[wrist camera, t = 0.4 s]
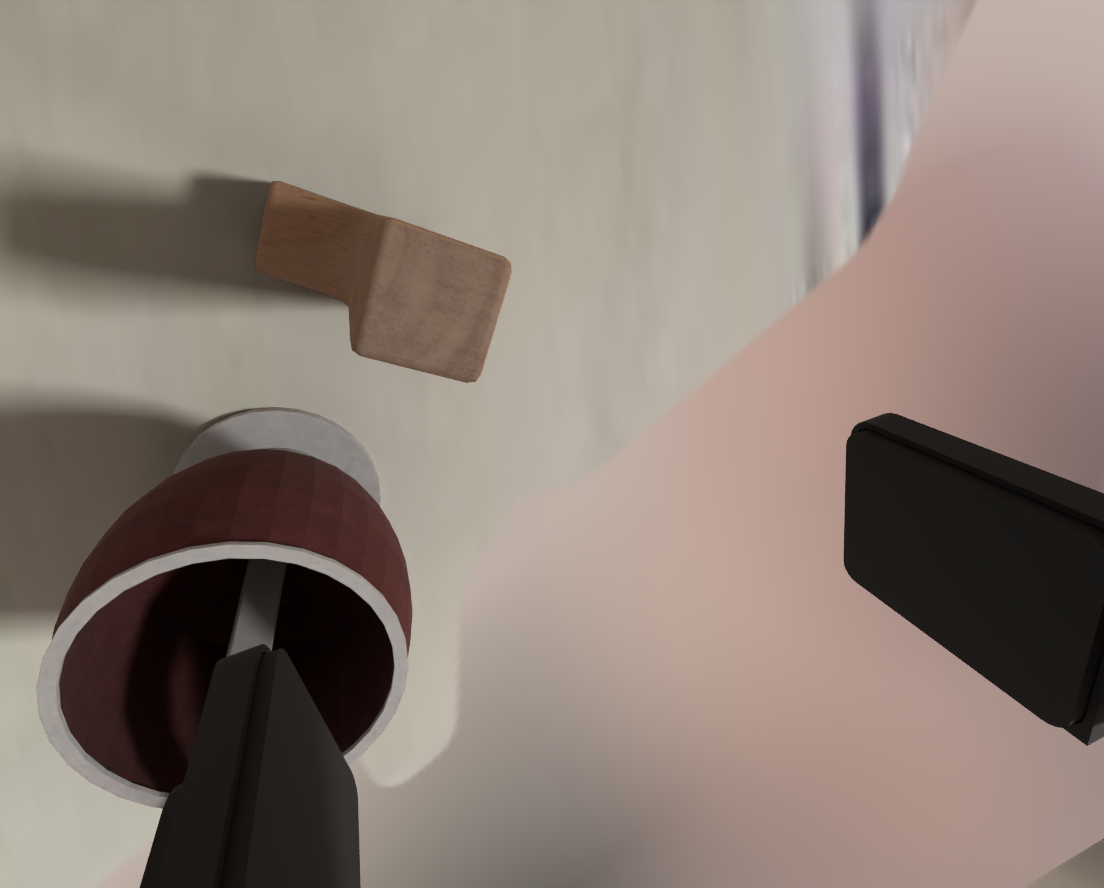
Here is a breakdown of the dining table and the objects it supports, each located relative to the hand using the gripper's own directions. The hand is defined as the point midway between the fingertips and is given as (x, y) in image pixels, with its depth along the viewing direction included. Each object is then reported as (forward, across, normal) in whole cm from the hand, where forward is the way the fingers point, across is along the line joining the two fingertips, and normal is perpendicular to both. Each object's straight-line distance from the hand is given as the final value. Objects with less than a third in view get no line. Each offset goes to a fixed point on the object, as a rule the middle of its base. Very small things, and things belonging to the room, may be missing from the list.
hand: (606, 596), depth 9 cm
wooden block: (+31, +2, -4) cm, 31 cm away
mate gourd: (+31, +12, +10) cm, 35 cm away
